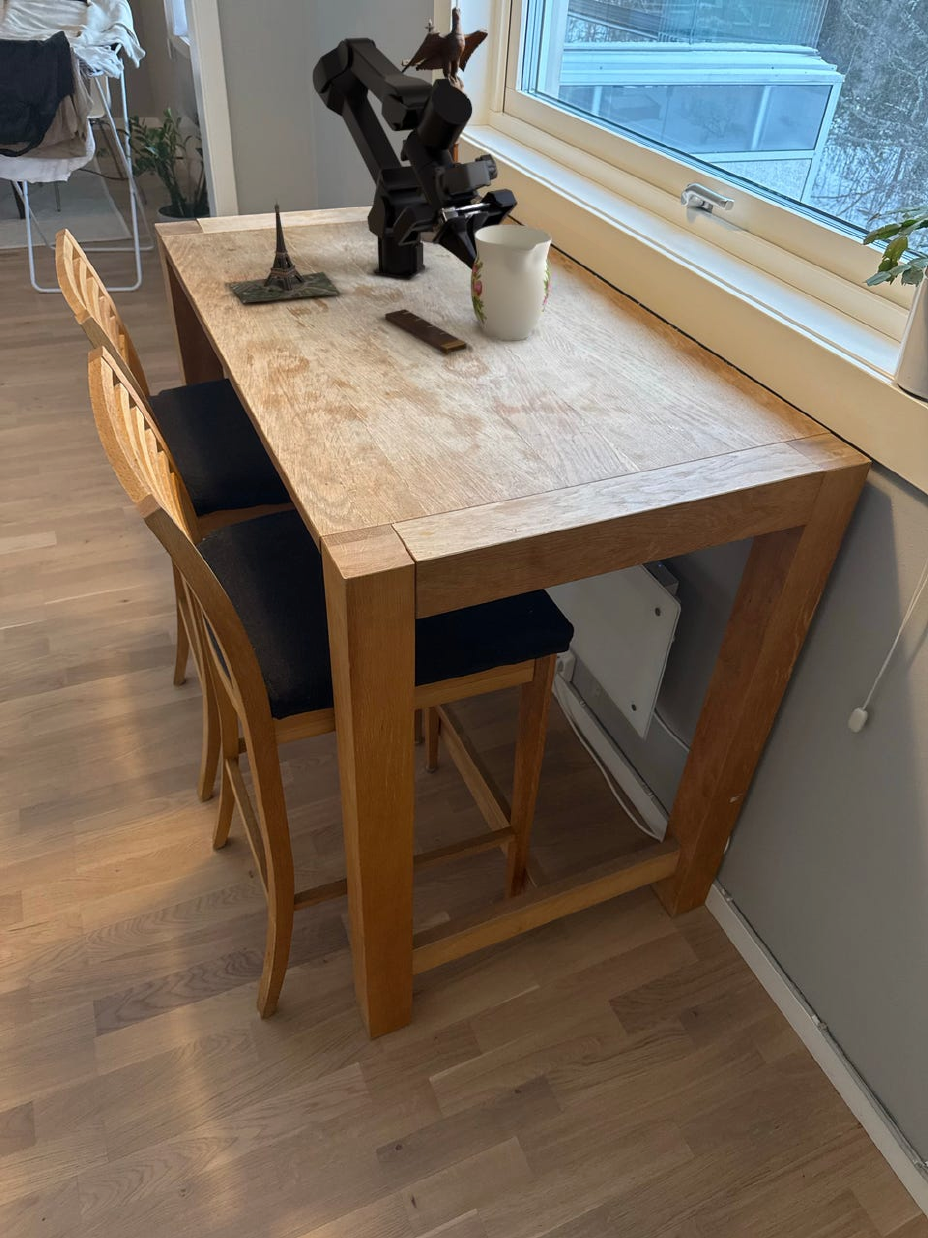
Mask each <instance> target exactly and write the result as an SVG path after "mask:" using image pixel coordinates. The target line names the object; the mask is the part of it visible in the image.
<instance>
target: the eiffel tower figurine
mask: <svg viewBox="0 0 928 1238" xmlns="http://www.w3.org/2000/svg"><path fill="white" fill-rule="evenodd" d="M273 209H274V211H275V237H276V239H275V241H276V243H275V251H274V254H275V255H274V259H273V264H272V266H270V271H269V274H268V276H267V277H266V278H262V279H261V278H260V279H255V280H249V281H243V282H238V283H237V282H236V283H231V284H229V286H230V287H231V289H232V291H233V292H234V293H235V294H236V295H237V297H239V299H240V300H241V301H242V303H244V304H245V303H253V302H264V301H265V302H266V301H276V300H284V299H290V298H291V299H292V298H300V297H311V296H329V295H331V296H332V295H341V292H340V291H339V290H338V289H337V287H336V286H335V284H334V283H333V282H332V281H331V280H330V279H329V277H328V276H327V275H326V273H325V272H324V271H318V272H313V273H307V274H301V273H300V272H299V271H298V270H297V268H296V265H294V264H293V262H292V260H291V258H290V256H289V250H287V247H286V241H285V238H284V233H283V226H282V220H281V214H280V209H281V208H280V205H279V204H278V201H277V199H275V205H274V208H273Z"/></svg>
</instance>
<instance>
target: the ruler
mask: <svg viewBox="0 0 928 1238" xmlns="http://www.w3.org/2000/svg"><path fill="white" fill-rule="evenodd" d="M384 318H385V320H386V321H388V322H389V323H391V324H393V325H395V326H397V327H398V328H400V329H401V330H403V331H405V332H407V333H408V334H411V336H414V337H415V338H417V339H419V340H421V341H422V342H424V343H426V344H428V345H430V346H431V347H433V348H435V349H436V350H438V351H439V352H442V353H443V354H446V355H448V354H452V353H455V352H459V351H462V350H465V349H467V342H466V341H464V340H463V339H460V338H458V337H456V336H454V335H452V334H451V333H449V332H447V331H445V330H444V329H442V328H440V327H438V326H436V325H434V324H433V323H431V322H429V321H427V320H426V319H423V318H422V317H420V316H418V315H416V314H414V313H413V312H410V311H409V310H407V309H405V308H403V309H400V310H396V311H392V312H388V313H385V314H384Z"/></svg>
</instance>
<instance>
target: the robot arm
mask: <svg viewBox="0 0 928 1238" xmlns="http://www.w3.org/2000/svg"><path fill="white" fill-rule="evenodd" d="M312 84H313V88H314V91H315V92H316V93H317V95H318V97H319V99H320V100H321V101H322V103H323V104H324V106H325V107H326V108H327V109H328V110H330V111H332V113H335V114H336V115H338V116H339V117H341V118H342V119H343V121H344V123H345V125H346V127H347V130H348V132H349V133H350V136H351V139H353V142H354V143H355V145H356V148H357V149H358V151H359V154H360V156H361V158H362V160H363V162H364V164H365V166H366V168H367V171H368V173H369V175H370V176H371V179H372V181H373V182H374V184H375V190H374V191H375V192H374V197H373V205H372V207H371V208H370V210H369V213H368V214H367V217H366V218H367V220H366V221H367V224H368V231H369V232H370V233H371V234H373V235H374V236H376V237H377V261H378V263H377V264H378V265H377V266H378V267H376V268H374V269H373V274H375V275H380V276H387V277H391V278H397V279H402V280H411V279H412V278H413V277H415V276H416V275H418V274H419V273H421V272H422V271H424V270H425V269H426V264H424V243H423V242H422V241H421V240H422V238H421V233H423V232H425V233H427V232H429V228H431V227H433V229H434V230H435V231H434V232H435V234H436V236H435V237H434V238H433V240H432V242H431V243H433V245H439V246H441V247H442V248H443V249H445V250H446V251H448V252H449V253H451V254H452V255H453V256H454V257H456V258H457V259H458V260H460V261H461V262H462V263H463V264H464V265H465V266H467V268H469V269H470V270H472V268H473V265H474V261H475V259H476V256H477V248H476V242H475V233H476V232H477V231H478V230H480V229H482V228H485V227H489V226H495V225H502V223H503V222H504V221H505V219H507V217H508V216H509V215H510V214H511V212H513V210H514V209H515V208H516V207H517V206H518V201H517V199H516V197H515V194H514V192H513V191H512V190H511V189H508V188H502V189H495V190H490V191H487V193H486V194H485V195H484V196H483V197H482V199H481V200H480V201H479V203H475V204H473V205H472V203H471V200H472V199H473V200H476V198H478V195H479V194H480V193H479V191H478V190H480V189H482V188H484V187H491V186H492V181H493V180H495V179H497V178H498V175H499V172H498V171H499V170H498V167H497V163H496V161H495V160H494V157H493V155H492V154H491V153H489V154H482V155H480V156H478V157H476V158H475V159H474V161H471V162H470V161H469V162H465V163H461V162H458V163H454V161H453V159H452V157H451V155H450V152H449V150H448V149H450V148H452V147H453V146H454V145H455V143H456V142H457V140H458V139H460V136H461V135H462V133H463V131H464V130H465V128H466V126H467V124H468V122H469V121H470V119H471V117H472V114H473V105H472V101H471V99H470V98H469V97H468V95H467V96H466V95H465V94H464V93H463V92H464V91H463V92H462V91H461V90H459V89H458V88H456V87H454V86H451V83H450V80H449V79H448V78H445V77H444V78H436V79H435V80H434V81H433V83H432V84H431V83H430V82H428V81H426V80H424V79H422V78H420V77H414V76H409V75H407V74H404V73H402V70H401V69H399V68H398V67H397V66H396V64H394V63H393V62H392V61H391V60H390V59H389V58H388V57H387V56H386V55H385V54H384V53H383V52H382V51H381V50H380V49H379V48H378V47H377V45H376V42H375V41H374V39H372V38H369V37H346V38H344V39H343V40H341V41H339V42H338V44H337V46H336V47H335V48H333V49H331V50H330V51H329V52H327V53H324V55H322V56H320V58H319V59H318V61H317V63H316V65H315V66H314V68H313V70H312ZM369 91H370V92H371V93H372V94H373V95H374V96H375V97H376V98H377V100H379V102H380V104H381V109H380V110H381V111H380V114H381V116H382V118H383V119H384V121H385V123H386V124H387V125H388V127H389V129H390V130H392V131H393V132H405V131H410V132H409V133H408V135H407V137H406V138H405V139H403V140H402V148H401V151H400V153H399V155H400V157H398V155H397V153H396V151H395V149H394V148H393V145H392V143H391V141H390V139H389V137H388V135H387V133H386V131H385V130H384V128H383V126H382V123H381V121H380V119H379V118H378V115H377V114H376V112H375V110H374V108H373V106H372V104H371V102H370V100H369V97H368V96H369V95H368V94H369ZM399 158H400V159H399ZM407 161H408V162H409V164H410V165H405V166H403V164H402V163H401V162H407Z"/></svg>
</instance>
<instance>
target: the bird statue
mask: <svg viewBox="0 0 928 1238" xmlns="http://www.w3.org/2000/svg"><path fill="white" fill-rule="evenodd" d="M424 28H425V29H427V30H428V33H427V34H426V36H425V38H424V40H423V41H422V43H421V45H420V46H419V47H418V49H417V51H416V52H415V54H414V55H413V57H412V58H411V59H410V58H409V59H406V58H405V59H403V60H402V61H401V63H400V65H401V67H404V68H403V69H402V70H401V72H402V73H403V74H404V73H405V72H406V71H407V70H408V69H409V68H410V67H412V68H415V71H416V72H419V71H426V70H427V71H439V70H442V74H443V77H444V78H448V79H449V80H450V83H451V86H454V87H456V88H458V89H459V90H461V91H462V92H463V93H464V94H465V95H466V96H467V97H468V94H467V92H465V91H464V88H465V87H464V86H465V84H464V82H463V80H462V78H461V77H460V76H458V72H459V69H460V70H461V72H462V73H464V72H465V69H466V67H467V64H468V61H469V60H470V58H472V54H474V52H475V51H476V50H477V49H478V48H479V46H480V45H481V44H482V43H483V42H484V41H485V40H486V39H487V38H488V35H489V33H488V30H487V29H483V28H479V29H477V30H475V31H473V32H470V33H464V31H463V29H462V23H461V9H460V8H459V7H457V6H454V8H452V9H451V30H450V32H449V33H446V34H441V31H440V30H438V29H435V26H434V25H433V23H432V19H431V18H428V26H427V25H426V26H424ZM459 139H460V138H458V140H457V142H456V143H455V145H454V146H453V147H452V148H450V149H448V150H449V152H450V155H451V157H452V159H453V161H454V163H459V145H460V143H461V141H460V140H459ZM471 203H472V205H473V204H477V201H476V200H475V199H472V200H471ZM434 231H435V230H434V229H433V227H431V228H429V232H427V233H425V232H423V233H421V240H423V241H425V242H428V243H433V242H432V240H433V238H434V237H435V236H436V234H435V232H434Z"/></svg>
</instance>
